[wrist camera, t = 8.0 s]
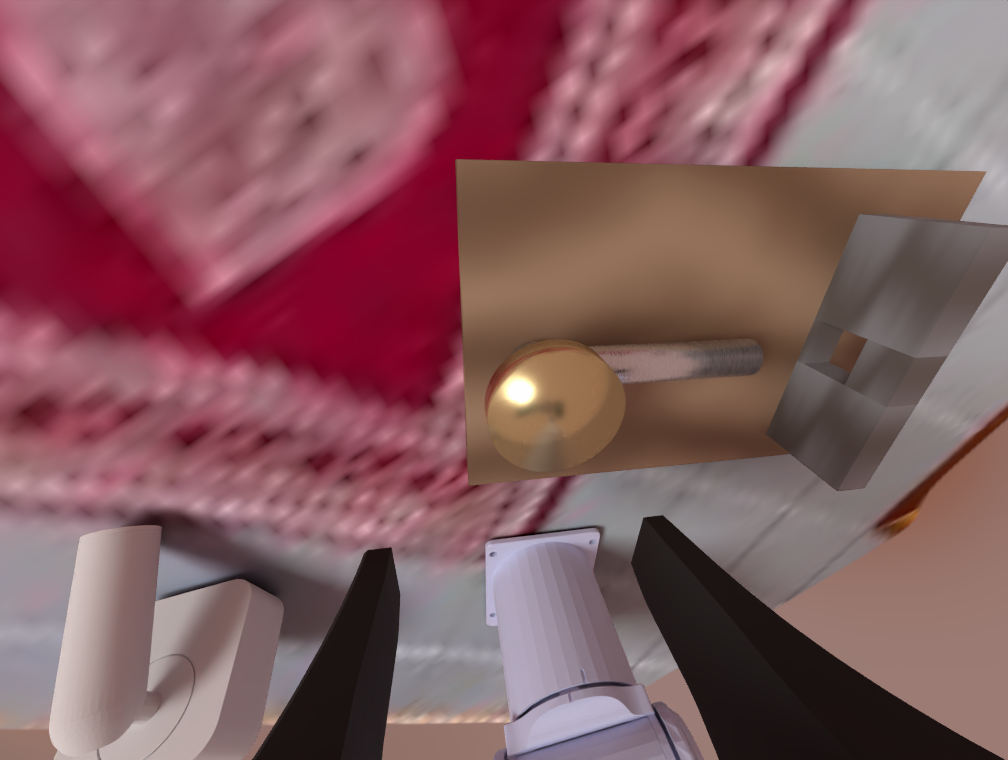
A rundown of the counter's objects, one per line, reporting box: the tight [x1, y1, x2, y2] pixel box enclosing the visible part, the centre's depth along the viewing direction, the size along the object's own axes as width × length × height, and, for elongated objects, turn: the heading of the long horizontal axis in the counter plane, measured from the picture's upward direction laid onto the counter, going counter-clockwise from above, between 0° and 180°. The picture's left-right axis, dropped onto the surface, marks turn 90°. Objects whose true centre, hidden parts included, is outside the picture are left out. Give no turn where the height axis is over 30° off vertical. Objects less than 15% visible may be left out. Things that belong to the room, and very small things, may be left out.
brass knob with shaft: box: [484, 339, 763, 472], centre depth 16 cm, size 5×13×5 cm, turn 89°
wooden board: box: [455, 159, 1008, 491], centre depth 18 cm, size 16×24×6 cm, turn 89°
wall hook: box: [49, 525, 284, 760], centre depth 19 cm, size 8×10×10 cm
